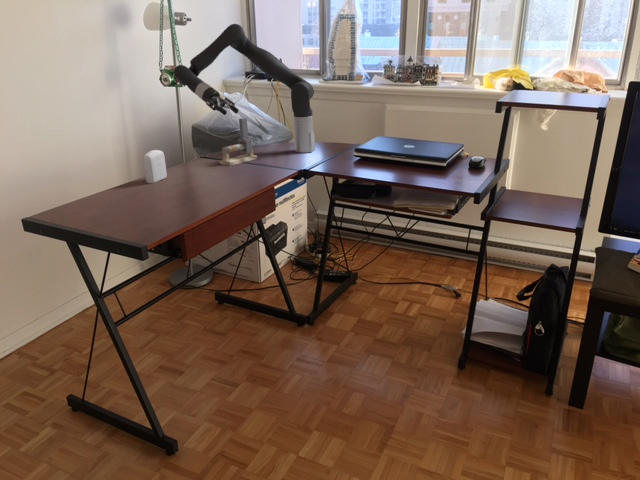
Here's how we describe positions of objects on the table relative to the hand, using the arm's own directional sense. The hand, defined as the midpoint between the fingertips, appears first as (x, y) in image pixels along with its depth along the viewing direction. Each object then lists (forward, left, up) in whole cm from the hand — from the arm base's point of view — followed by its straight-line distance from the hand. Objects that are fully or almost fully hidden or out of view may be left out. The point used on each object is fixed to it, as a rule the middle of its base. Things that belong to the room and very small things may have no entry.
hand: (231, 112), depth 252 cm
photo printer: (+16, +44, -22) cm, 51 cm away
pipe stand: (-4, +5, -22) cm, 22 cm away
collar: (-6, +1, -18) cm, 19 cm away
